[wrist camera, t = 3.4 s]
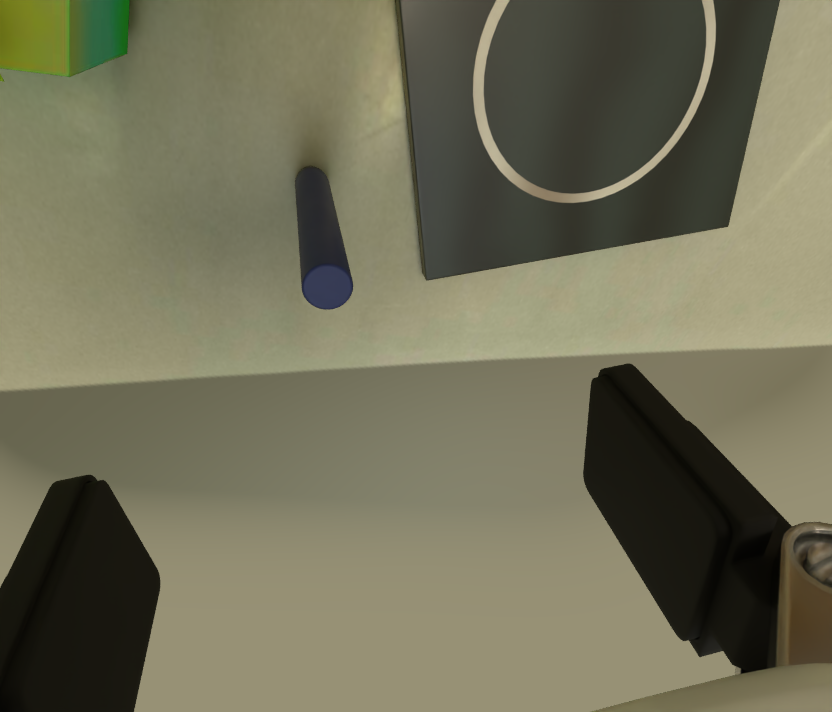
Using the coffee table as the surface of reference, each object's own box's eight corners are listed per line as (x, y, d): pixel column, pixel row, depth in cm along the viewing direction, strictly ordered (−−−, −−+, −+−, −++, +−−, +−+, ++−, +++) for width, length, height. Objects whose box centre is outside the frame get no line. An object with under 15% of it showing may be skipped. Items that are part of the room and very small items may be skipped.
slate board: (422, 273, 31) (426, 282, 30) (379, -157, 21) (383, -164, 20) (717, 221, 33) (729, 227, 32) (807, -196, 23) (829, -204, 22)
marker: (298, 199, 28) (307, 314, 18) (291, 166, 27) (296, 269, 17) (330, 193, 28) (357, 305, 18) (324, 161, 27) (348, 260, 17)
